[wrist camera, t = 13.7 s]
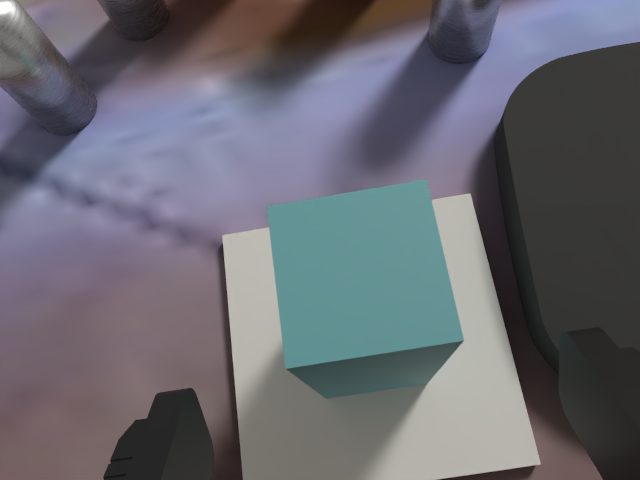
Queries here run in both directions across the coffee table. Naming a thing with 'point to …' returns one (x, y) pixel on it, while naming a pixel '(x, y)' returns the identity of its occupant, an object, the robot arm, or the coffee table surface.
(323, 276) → the teal block
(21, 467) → the coffee table surface
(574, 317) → the media streaming box
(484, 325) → the tile
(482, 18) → the posts
